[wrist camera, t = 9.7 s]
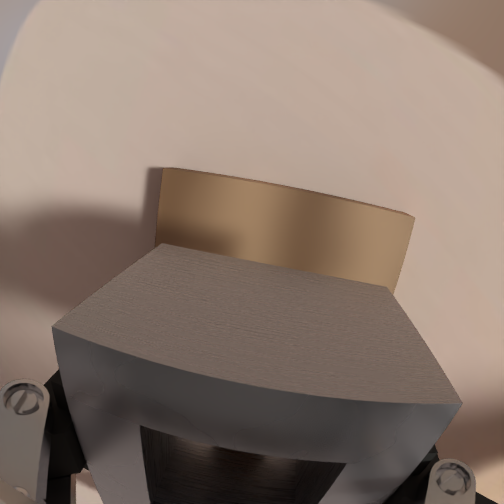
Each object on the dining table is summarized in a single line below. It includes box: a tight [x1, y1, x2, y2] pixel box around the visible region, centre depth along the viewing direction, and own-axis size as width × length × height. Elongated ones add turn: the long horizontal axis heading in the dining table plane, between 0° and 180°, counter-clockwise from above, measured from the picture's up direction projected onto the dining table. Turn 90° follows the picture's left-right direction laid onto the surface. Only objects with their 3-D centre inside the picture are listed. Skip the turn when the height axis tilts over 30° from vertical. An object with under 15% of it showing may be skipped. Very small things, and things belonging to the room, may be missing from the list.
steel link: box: [52, 243, 462, 504], centre depth 7 cm, size 6×6×5 cm
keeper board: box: [155, 168, 415, 295], centre depth 13 cm, size 11×20×7 cm, turn 170°
